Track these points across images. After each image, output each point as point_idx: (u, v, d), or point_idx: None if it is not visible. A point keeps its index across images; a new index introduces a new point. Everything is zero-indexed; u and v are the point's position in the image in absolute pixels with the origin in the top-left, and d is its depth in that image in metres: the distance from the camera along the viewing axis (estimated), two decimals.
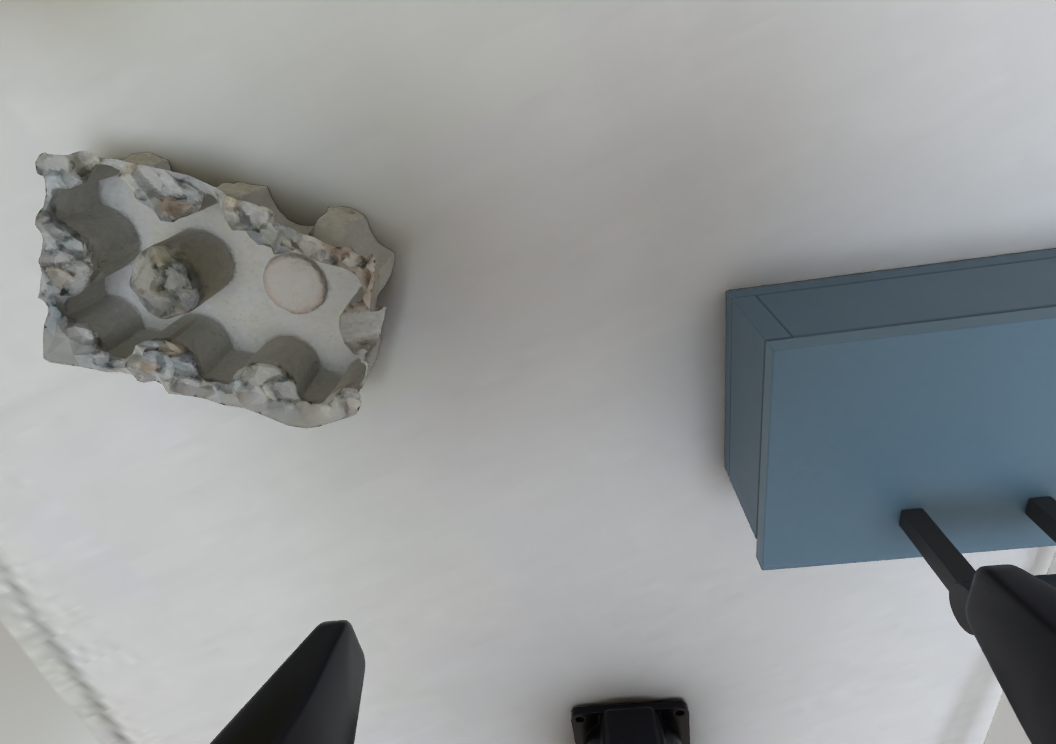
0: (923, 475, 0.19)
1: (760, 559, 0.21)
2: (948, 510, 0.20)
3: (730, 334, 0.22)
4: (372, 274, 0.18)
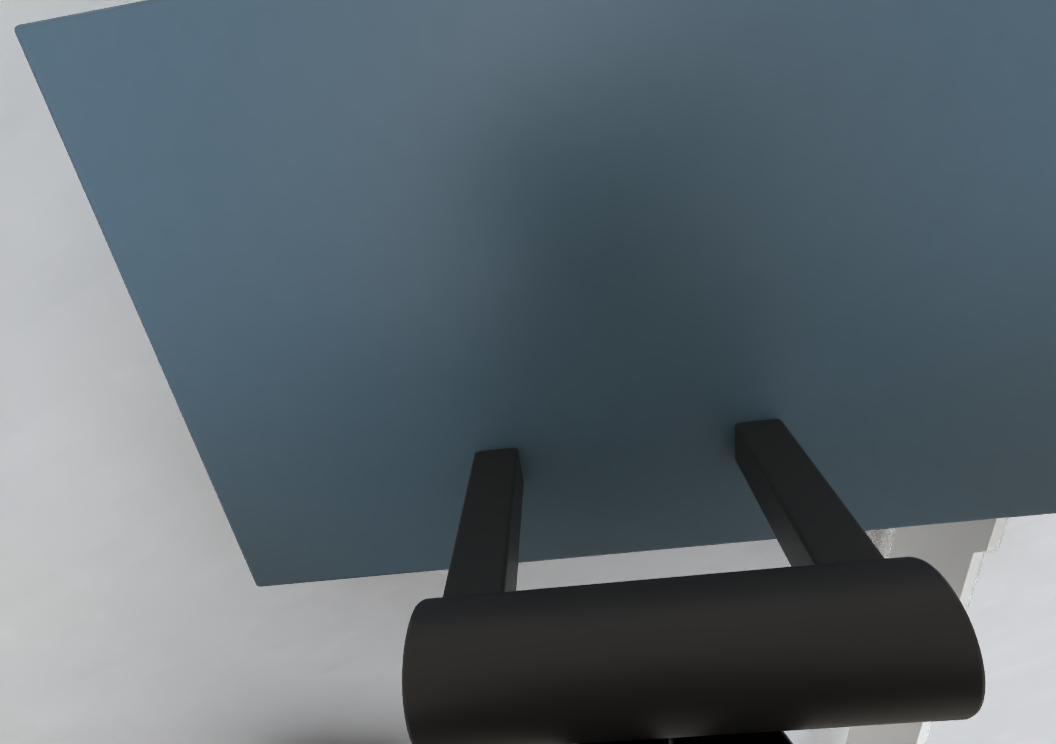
0: (489, 367, 0.09)
1: (254, 563, 0.11)
2: (573, 451, 0.09)
3: None
4: None
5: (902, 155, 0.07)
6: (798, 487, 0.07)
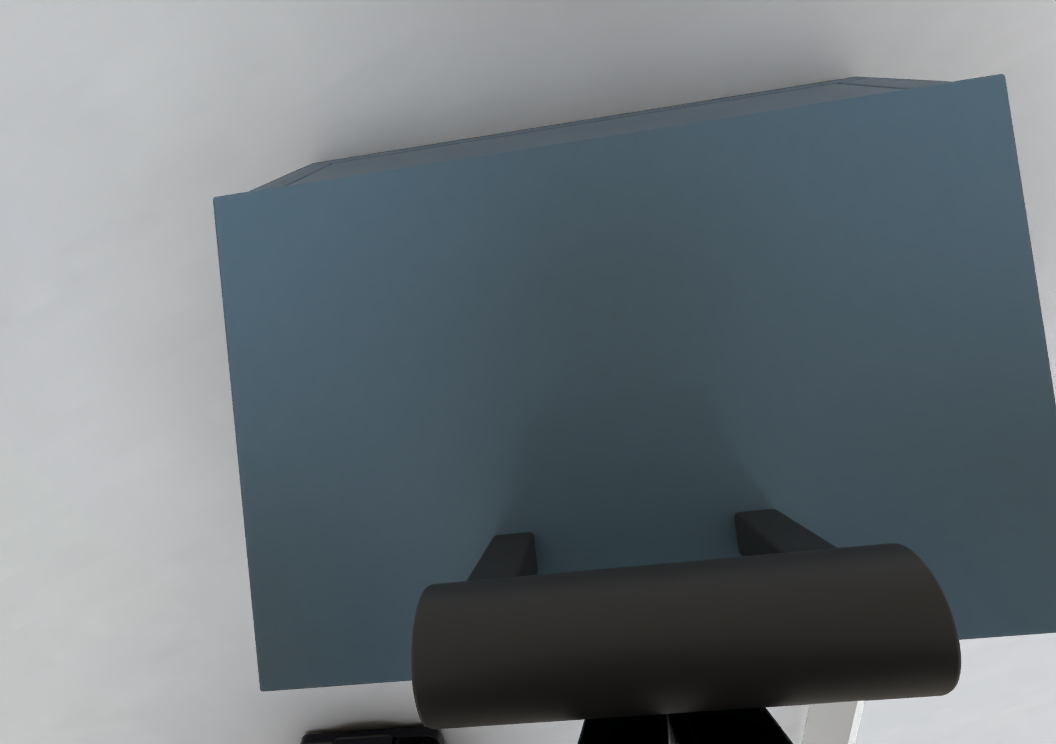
0: (512, 451, 0.10)
1: (264, 665, 0.11)
2: (585, 539, 0.10)
3: None
4: None
5: (834, 283, 0.10)
6: (788, 536, 0.08)
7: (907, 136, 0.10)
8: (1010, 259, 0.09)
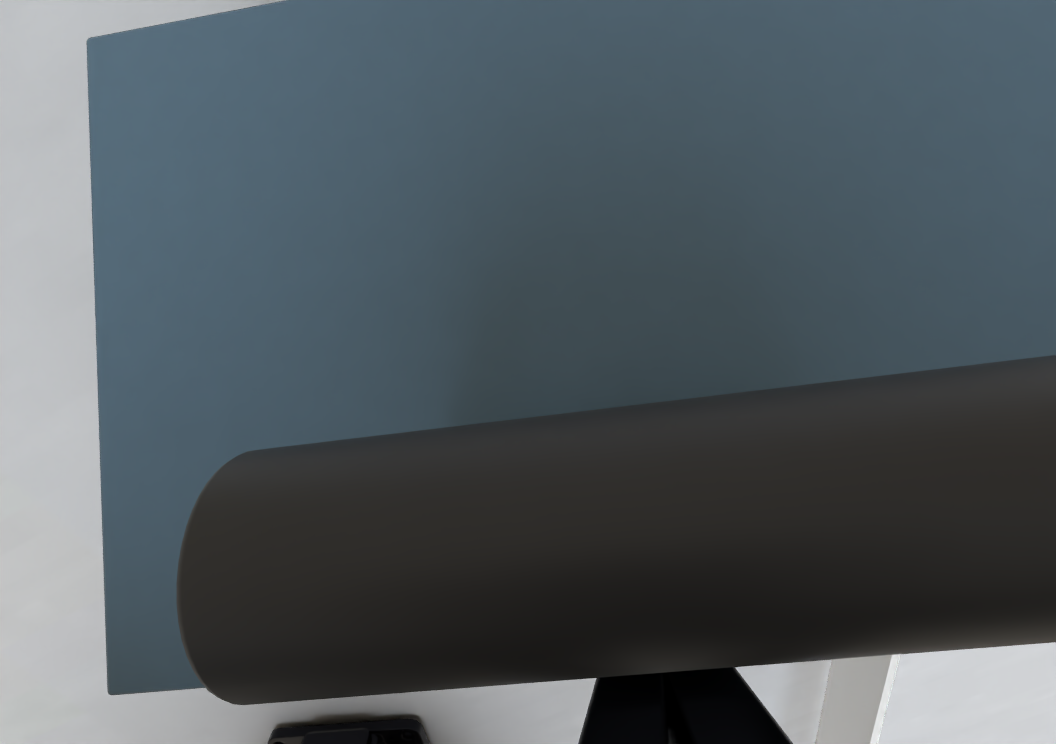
0: (463, 352, 0.07)
1: (118, 660, 0.08)
2: None
3: None
4: None
5: (903, 115, 0.07)
6: None
7: None
8: None
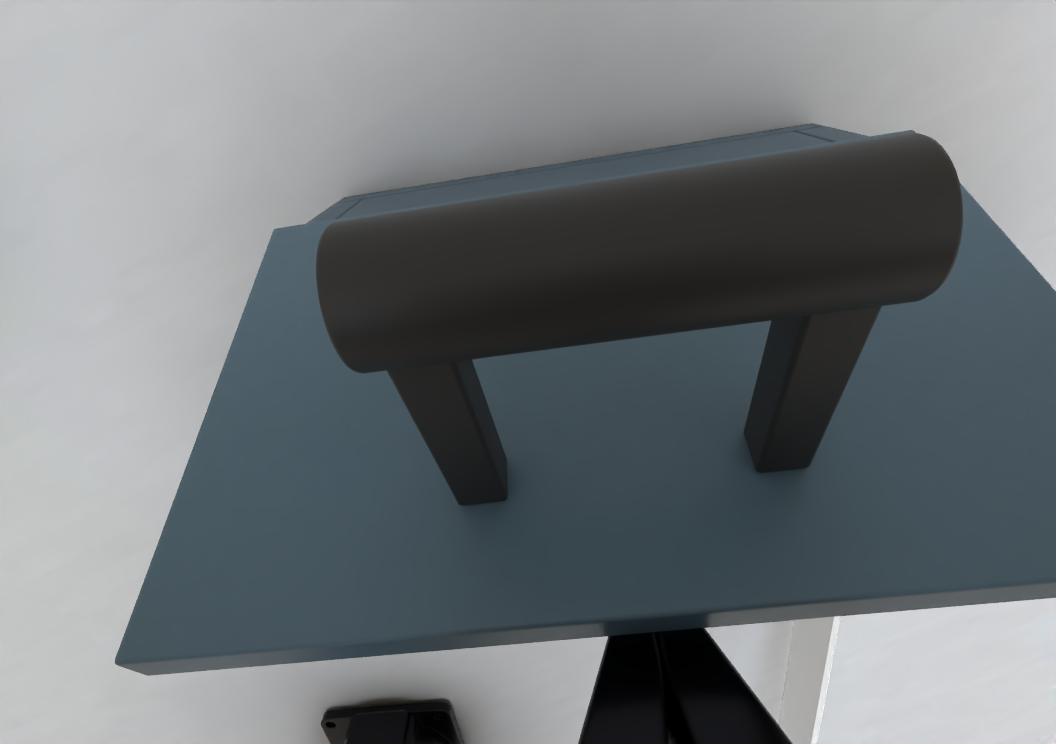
0: (492, 383, 0.09)
1: (133, 638, 0.08)
2: (567, 465, 0.08)
3: None
4: None
5: None
6: None
7: None
8: (972, 223, 0.10)
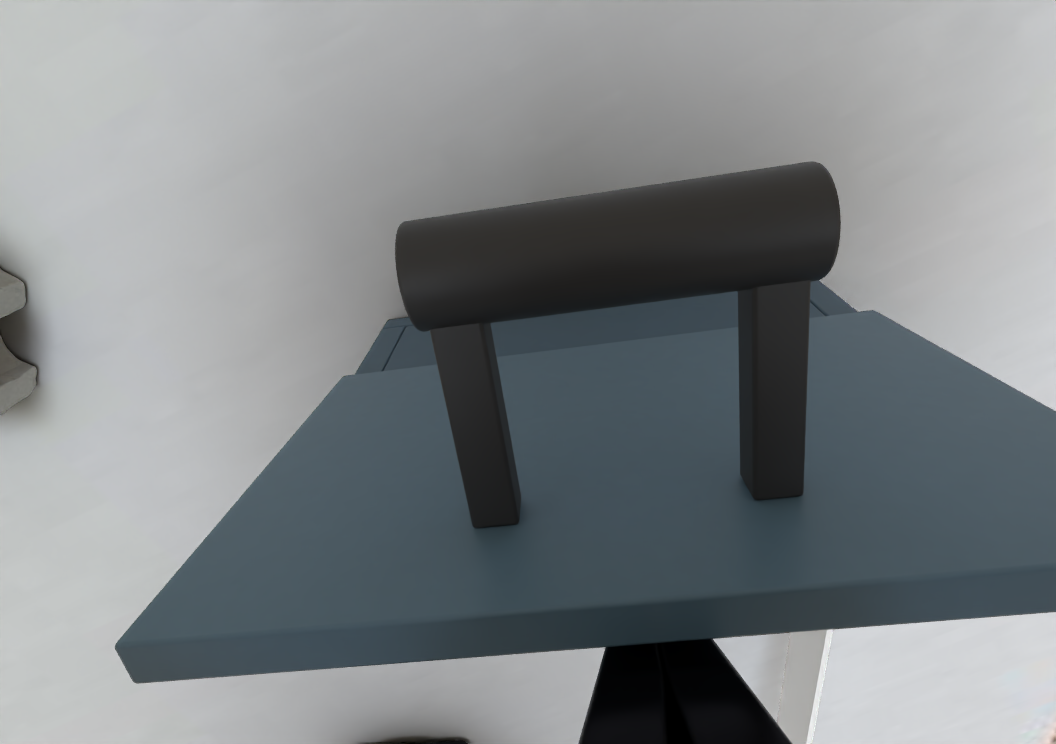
0: (514, 453, 0.10)
1: (136, 637, 0.08)
2: (577, 500, 0.09)
3: None
4: None
5: None
6: None
7: (819, 327, 0.14)
8: (932, 354, 0.12)
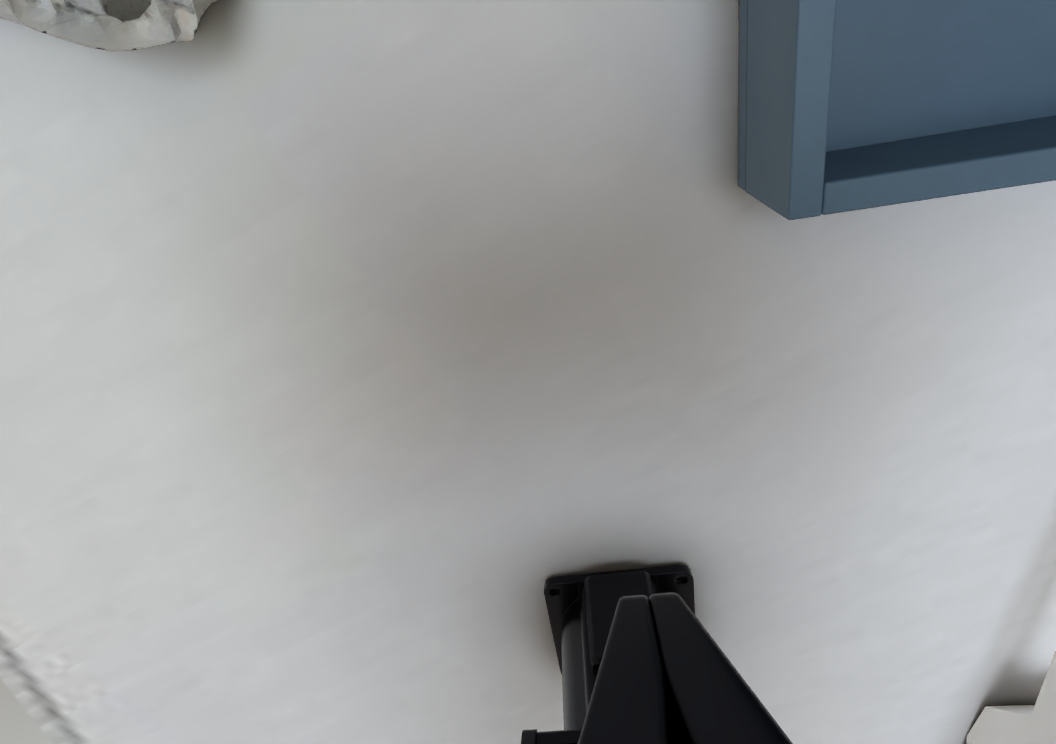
0: None
1: None
2: None
3: None
4: None
5: None
6: None
7: None
8: None
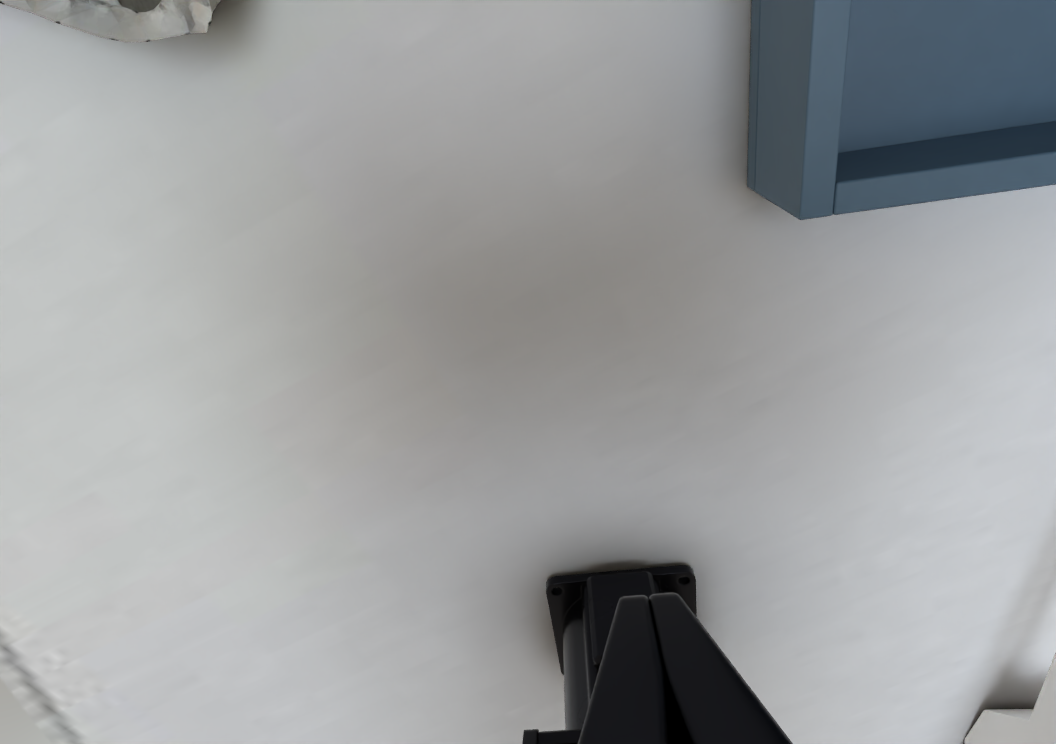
0: None
1: None
2: None
3: None
4: None
5: None
6: None
7: None
8: None
